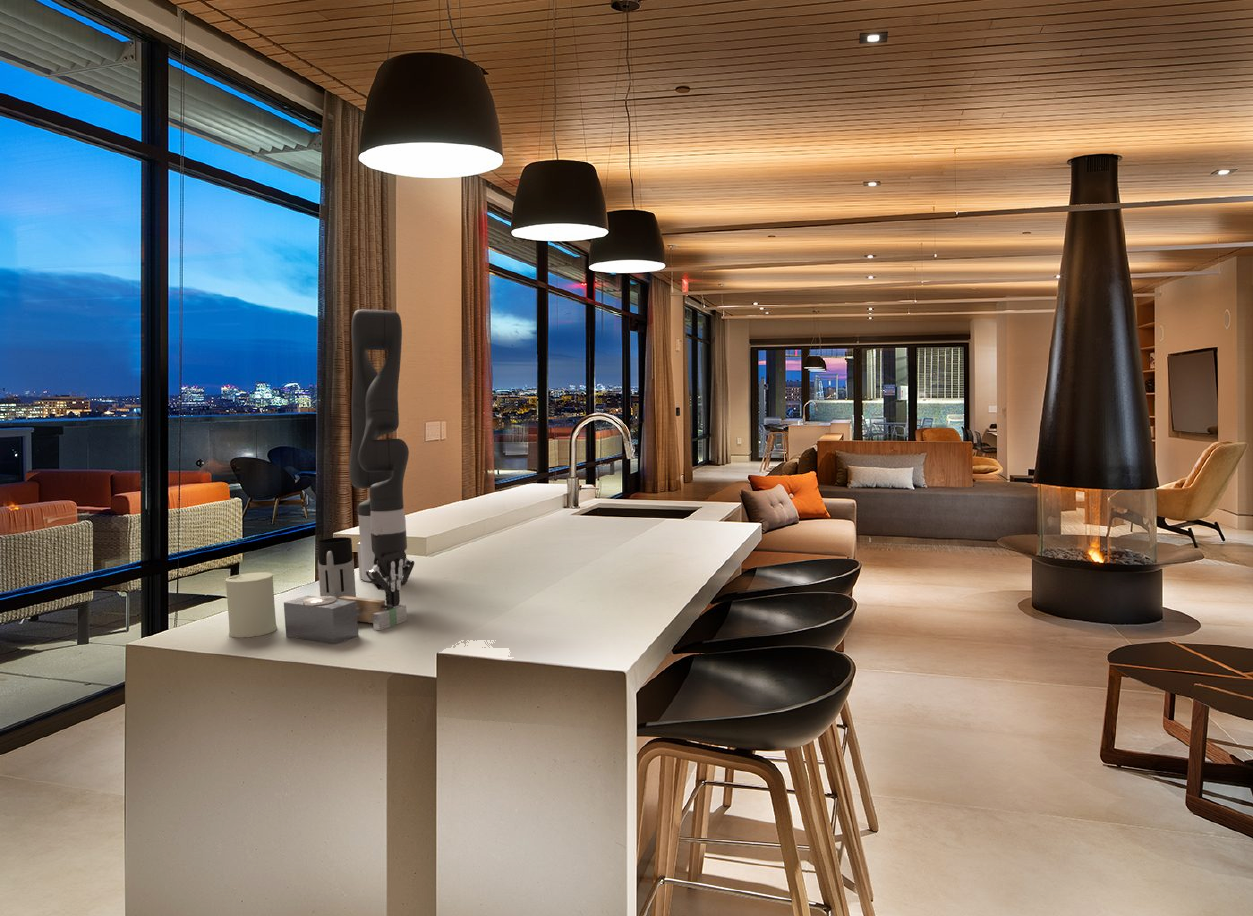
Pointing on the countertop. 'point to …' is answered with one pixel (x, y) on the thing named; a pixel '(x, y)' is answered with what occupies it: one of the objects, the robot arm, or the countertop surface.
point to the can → (251, 604)
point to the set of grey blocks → (332, 618)
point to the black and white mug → (336, 567)
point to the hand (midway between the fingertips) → (393, 606)
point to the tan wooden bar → (367, 607)
